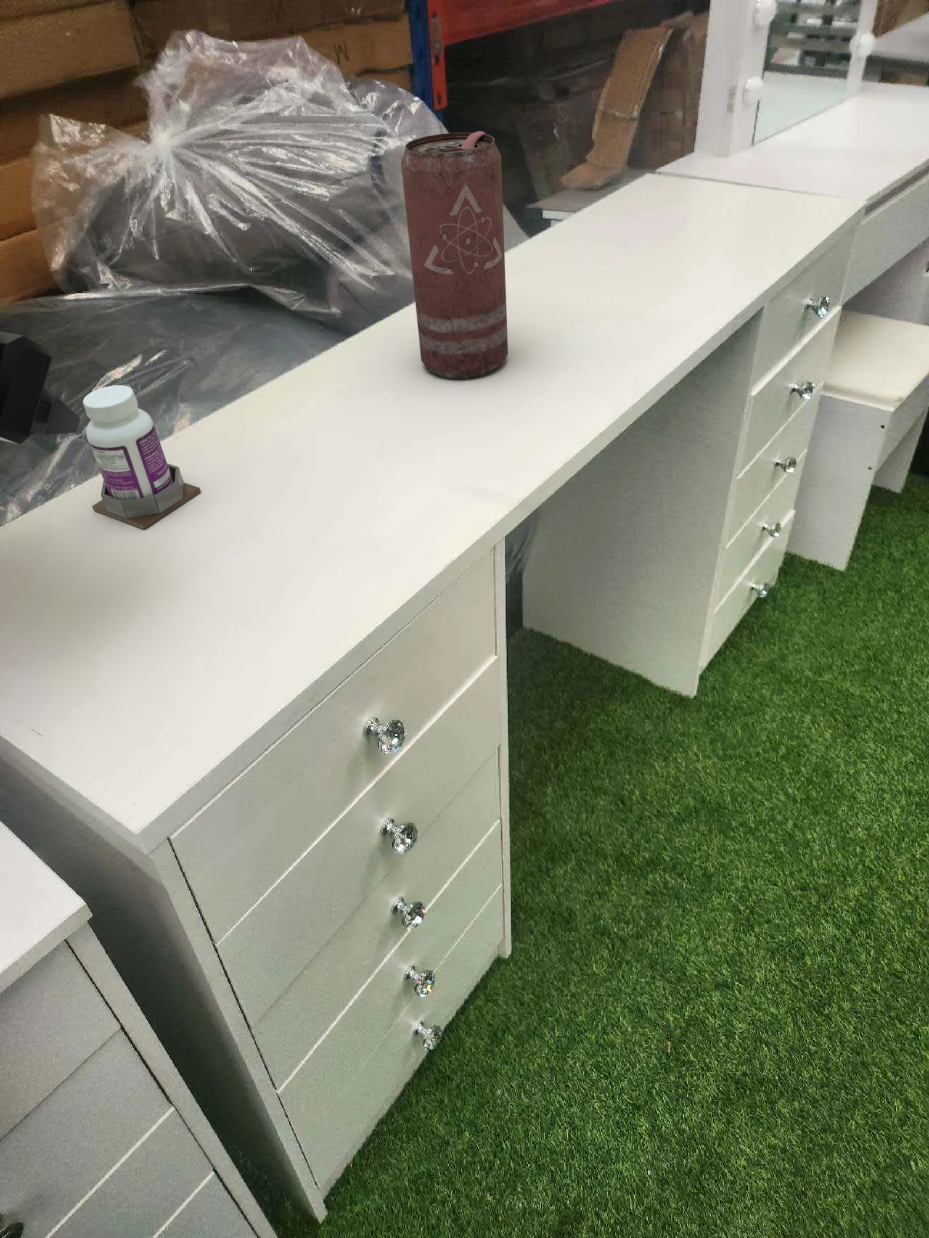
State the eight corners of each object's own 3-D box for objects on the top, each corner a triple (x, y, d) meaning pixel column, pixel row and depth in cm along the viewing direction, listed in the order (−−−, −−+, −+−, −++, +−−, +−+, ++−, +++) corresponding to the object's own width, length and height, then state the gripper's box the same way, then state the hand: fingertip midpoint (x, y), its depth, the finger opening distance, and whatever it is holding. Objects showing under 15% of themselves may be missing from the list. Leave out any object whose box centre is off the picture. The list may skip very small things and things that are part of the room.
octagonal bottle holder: (144, 530, 73) (136, 508, 72) (93, 510, 76) (85, 490, 75) (201, 492, 77) (195, 471, 76) (150, 475, 80) (143, 455, 79)
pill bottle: (160, 474, 79) (126, 374, 73) (186, 497, 76) (153, 393, 69) (103, 497, 76) (63, 396, 70) (127, 521, 73) (87, 417, 67)
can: (526, 352, 95) (521, 131, 81) (477, 388, 89) (463, 155, 75) (456, 338, 100) (440, 125, 86) (404, 371, 94) (378, 148, 80)
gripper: (-45, 194, 45) (159, 323, 60) (-253, 177, 52) (-26, 296, 67) (-104, 398, 45) (115, 478, 60) (-306, 353, 52) (-66, 435, 67)
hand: (31, 415), depth 63 cm, fingers open, 9 cm apart
